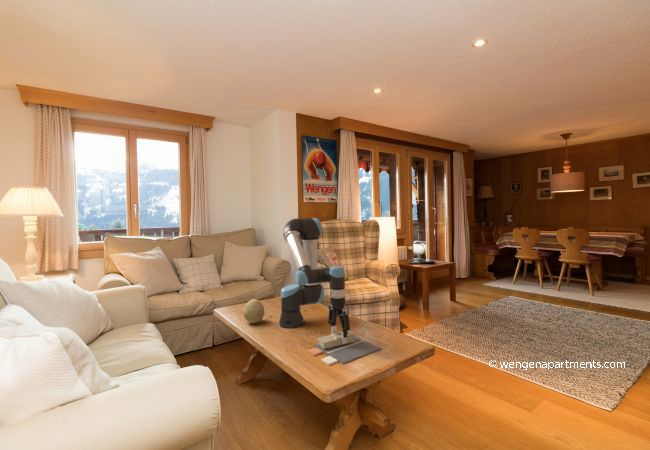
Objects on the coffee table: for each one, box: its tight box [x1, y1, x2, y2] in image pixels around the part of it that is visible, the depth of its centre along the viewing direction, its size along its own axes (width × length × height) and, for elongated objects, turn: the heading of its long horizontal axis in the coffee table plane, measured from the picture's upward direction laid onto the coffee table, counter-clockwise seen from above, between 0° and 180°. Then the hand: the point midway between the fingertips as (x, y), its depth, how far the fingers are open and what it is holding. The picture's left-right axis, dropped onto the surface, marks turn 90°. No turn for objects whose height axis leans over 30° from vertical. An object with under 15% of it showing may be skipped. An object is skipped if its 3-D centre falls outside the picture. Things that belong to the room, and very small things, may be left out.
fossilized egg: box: [243, 298, 265, 324], centre depth 200 cm, size 13×13×15 cm
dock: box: [307, 335, 382, 366], centre depth 157 cm, size 24×30×1 cm
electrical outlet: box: [317, 330, 356, 349], centre depth 163 cm, size 7×4×18 cm
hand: (339, 340), depth 164 cm, fingers closed on electrical outlet, 8 cm apart
